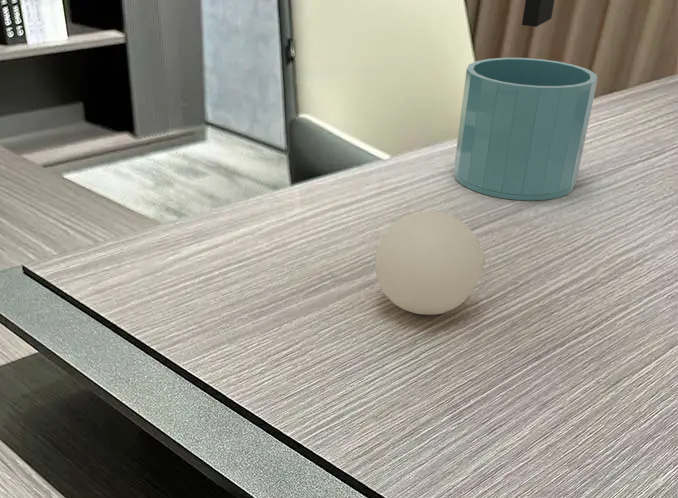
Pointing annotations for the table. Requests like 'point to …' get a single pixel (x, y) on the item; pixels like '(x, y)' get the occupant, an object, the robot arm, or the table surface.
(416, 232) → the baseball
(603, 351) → the table surface
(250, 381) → the table surface
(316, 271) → the table surface
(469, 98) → the canister
